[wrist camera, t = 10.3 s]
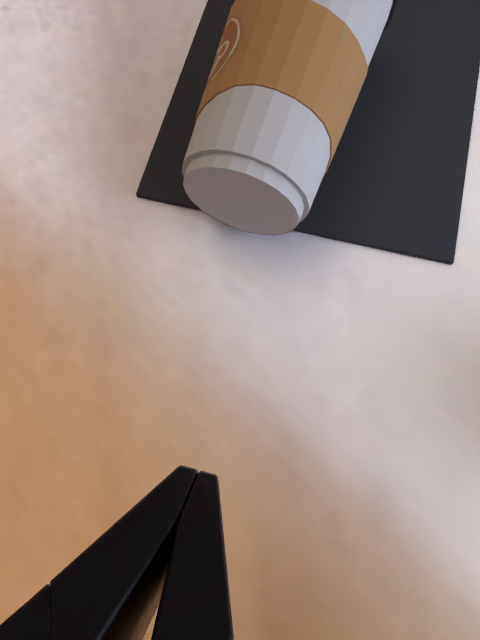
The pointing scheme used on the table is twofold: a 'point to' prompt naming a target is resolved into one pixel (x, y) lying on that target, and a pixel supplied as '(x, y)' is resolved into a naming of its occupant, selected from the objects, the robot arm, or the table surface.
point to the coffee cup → (278, 107)
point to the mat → (367, 132)
